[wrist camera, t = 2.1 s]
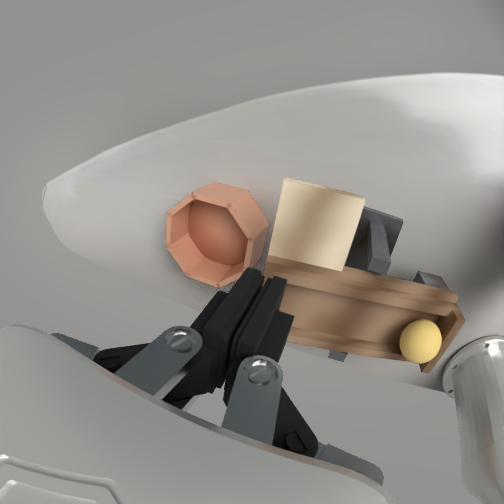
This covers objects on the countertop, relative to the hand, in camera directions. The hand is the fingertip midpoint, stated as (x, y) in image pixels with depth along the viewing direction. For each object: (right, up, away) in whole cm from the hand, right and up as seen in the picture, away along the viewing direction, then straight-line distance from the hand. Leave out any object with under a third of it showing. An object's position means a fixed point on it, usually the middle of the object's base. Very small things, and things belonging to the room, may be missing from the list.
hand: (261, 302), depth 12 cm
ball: (+14, -6, +10) cm, 19 cm away
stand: (+12, 0, +20) cm, 23 cm away
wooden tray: (+10, +1, +15) cm, 18 cm away
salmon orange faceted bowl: (-4, +5, +24) cm, 25 cm away
